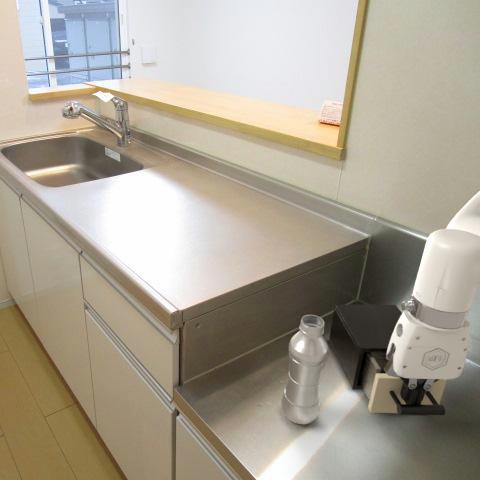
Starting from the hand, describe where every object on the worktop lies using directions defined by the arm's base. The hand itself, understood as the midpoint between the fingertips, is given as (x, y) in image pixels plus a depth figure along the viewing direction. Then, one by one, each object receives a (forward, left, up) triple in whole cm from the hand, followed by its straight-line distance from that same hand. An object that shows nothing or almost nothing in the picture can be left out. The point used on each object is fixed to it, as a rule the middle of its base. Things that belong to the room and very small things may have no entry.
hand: (409, 402), depth 76 cm
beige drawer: (-1, -6, -4) cm, 7 cm away
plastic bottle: (+17, -2, -5) cm, 18 cm away
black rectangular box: (-1, -16, -5) cm, 17 cm away
